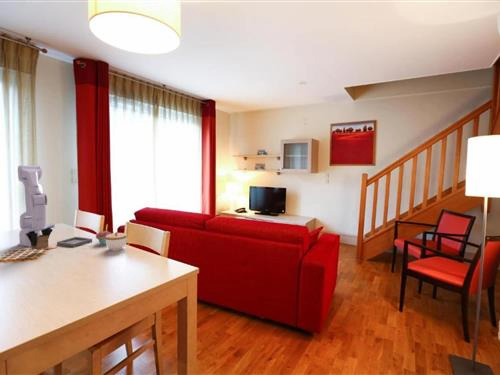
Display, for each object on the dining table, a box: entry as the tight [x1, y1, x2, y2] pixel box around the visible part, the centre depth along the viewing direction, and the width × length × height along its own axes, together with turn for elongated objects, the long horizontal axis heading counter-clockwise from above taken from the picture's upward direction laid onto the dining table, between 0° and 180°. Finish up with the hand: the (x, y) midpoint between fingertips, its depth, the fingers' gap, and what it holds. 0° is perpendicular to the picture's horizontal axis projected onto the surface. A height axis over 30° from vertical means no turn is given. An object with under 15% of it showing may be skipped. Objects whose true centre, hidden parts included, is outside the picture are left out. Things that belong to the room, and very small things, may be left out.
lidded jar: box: [105, 231, 128, 252], centre depth 147 cm, size 11×11×9 cm
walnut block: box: [30, 234, 49, 251], centre depth 137 cm, size 5×5×6 cm
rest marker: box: [42, 245, 58, 250], centre depth 145 cm, size 6×6×1 cm
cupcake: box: [95, 223, 112, 245], centre depth 156 cm, size 9×8×12 cm
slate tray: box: [56, 236, 93, 248], centre depth 155 cm, size 12×12×2 cm
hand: (39, 244), depth 137 cm, fingers closed on walnut block, 5 cm apart
